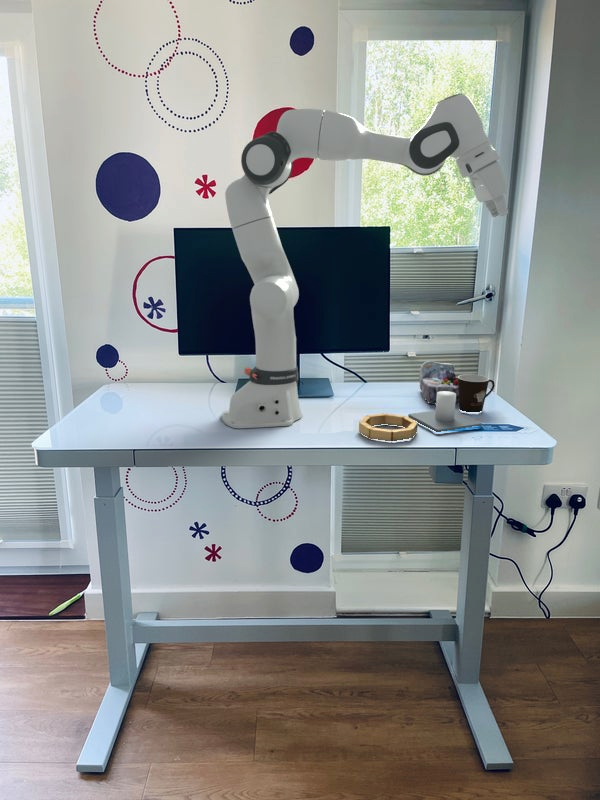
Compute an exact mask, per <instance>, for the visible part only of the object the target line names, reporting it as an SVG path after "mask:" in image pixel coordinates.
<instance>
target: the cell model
mask: <svg viewBox="0 0 600 800" xmlns="http://www.w3.org/2000/svg"><path fill="white" fill-rule="evenodd" d="M455 369H456V368H455V365H454V364H452V363H449V362H436V361H433V360H427V361H424V362H423V363H422V364H421V366H420V369H419V374H418V375H419V376H418V378H419V389H420V391H421V395H422V398H423V399H424V398H425V399H426V400H427V401H426V400H425V399H424V400H425V401H426V402H427V403H428V402H429V403H436V399H437V392H440V391H449V392H454V393H456V403H459V393H458V377H457V375H456V374H455V371H456V370H455ZM429 403H428V404H429Z"/></svg>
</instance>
